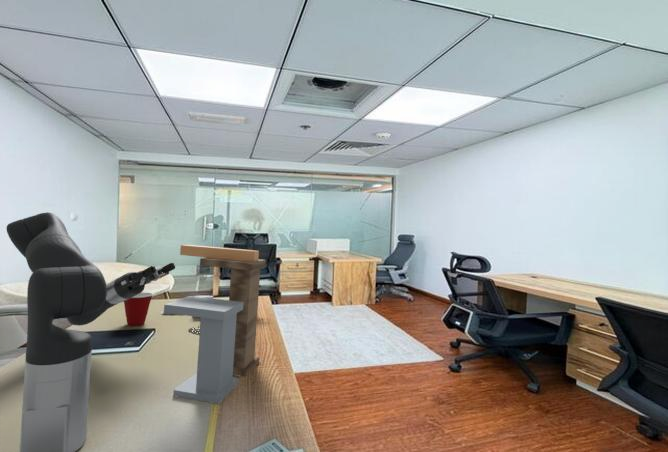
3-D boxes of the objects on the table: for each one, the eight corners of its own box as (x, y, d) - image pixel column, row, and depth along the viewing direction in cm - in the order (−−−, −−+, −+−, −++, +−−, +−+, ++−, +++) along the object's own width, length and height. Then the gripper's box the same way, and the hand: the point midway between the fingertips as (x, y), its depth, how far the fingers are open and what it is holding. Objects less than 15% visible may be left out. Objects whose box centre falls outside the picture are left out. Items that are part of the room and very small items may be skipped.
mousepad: (214, 328, 127) (214, 326, 127) (212, 335, 119) (212, 333, 119) (189, 328, 124) (189, 327, 124) (186, 335, 117) (186, 333, 117)
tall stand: (259, 361, 99) (265, 259, 99) (244, 376, 89) (252, 263, 89) (211, 354, 101) (218, 255, 101) (193, 368, 91) (200, 258, 91)
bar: (258, 260, 95) (258, 250, 95) (254, 261, 92) (254, 251, 92) (186, 254, 99) (186, 244, 99) (180, 254, 96) (180, 245, 96)
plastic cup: (151, 318, 132) (152, 289, 132) (152, 326, 123) (154, 295, 123) (119, 321, 126) (121, 291, 126) (119, 329, 117) (121, 297, 117)
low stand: (238, 383, 85) (243, 302, 85) (218, 404, 75) (224, 311, 75) (184, 374, 88) (189, 295, 87) (158, 393, 78) (164, 304, 78)
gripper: (99, 281, 94) (142, 258, 92) (136, 274, 109) (175, 254, 106) (109, 304, 94) (152, 281, 91) (145, 294, 108) (184, 274, 106)
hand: (164, 266), depth 99 cm, fingers open, 8 cm apart
